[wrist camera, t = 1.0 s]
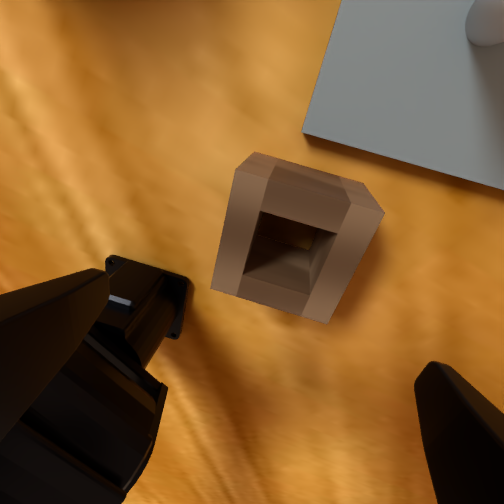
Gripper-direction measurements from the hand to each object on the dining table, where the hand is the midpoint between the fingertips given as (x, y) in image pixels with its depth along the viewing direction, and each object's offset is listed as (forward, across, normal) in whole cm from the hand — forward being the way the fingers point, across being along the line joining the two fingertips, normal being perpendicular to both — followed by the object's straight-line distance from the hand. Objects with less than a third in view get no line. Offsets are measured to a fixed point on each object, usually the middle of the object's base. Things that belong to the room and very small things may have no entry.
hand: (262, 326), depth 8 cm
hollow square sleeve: (+11, -1, +1) cm, 11 cm away
